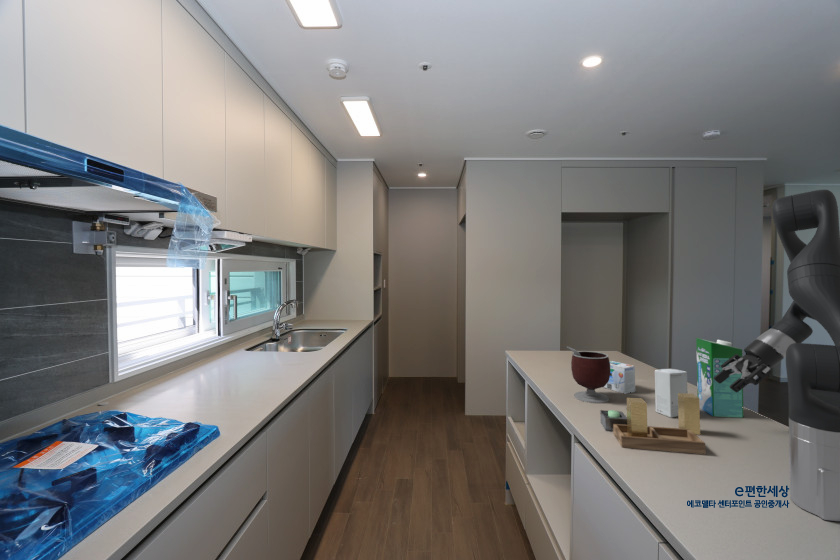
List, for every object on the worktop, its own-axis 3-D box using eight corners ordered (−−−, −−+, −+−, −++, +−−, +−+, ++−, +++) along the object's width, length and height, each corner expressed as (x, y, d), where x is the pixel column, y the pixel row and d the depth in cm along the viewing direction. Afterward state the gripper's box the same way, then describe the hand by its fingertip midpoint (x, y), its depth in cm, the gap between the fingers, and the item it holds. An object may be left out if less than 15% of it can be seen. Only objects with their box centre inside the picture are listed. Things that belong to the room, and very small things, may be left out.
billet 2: (700, 434, 106) (699, 398, 106) (684, 433, 107) (683, 397, 107) (693, 429, 110) (692, 393, 110) (678, 428, 111) (677, 393, 111)
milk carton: (743, 418, 118) (742, 342, 117) (712, 416, 119) (711, 342, 119) (726, 408, 126) (724, 337, 126) (697, 406, 128) (695, 337, 128)
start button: (621, 427, 111) (620, 414, 111) (609, 426, 112) (609, 413, 112) (618, 422, 114) (617, 410, 114) (607, 422, 115) (606, 409, 115)
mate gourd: (606, 393, 145) (605, 344, 145) (614, 405, 132) (613, 351, 132) (565, 390, 150) (564, 343, 149) (569, 402, 136) (568, 349, 136)
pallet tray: (705, 454, 95) (705, 443, 95) (622, 447, 100) (621, 436, 100) (689, 439, 104) (688, 429, 104) (613, 433, 109) (612, 423, 109)
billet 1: (647, 442, 100) (646, 403, 100) (631, 440, 101) (630, 402, 101) (642, 435, 104) (641, 398, 104) (627, 434, 105) (626, 397, 105)
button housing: (628, 432, 109) (628, 419, 109) (605, 430, 111) (605, 417, 111) (622, 423, 115) (622, 411, 115) (600, 422, 117) (600, 410, 117)
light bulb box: (601, 387, 153) (601, 362, 153) (612, 384, 156) (611, 360, 156) (625, 394, 143) (624, 367, 143) (636, 391, 146) (635, 365, 146)
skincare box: (670, 418, 119) (670, 373, 119) (654, 411, 125) (653, 369, 125) (689, 414, 121) (688, 371, 121) (672, 408, 127) (671, 367, 127)
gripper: (743, 334, 111) (701, 370, 114) (776, 343, 97) (727, 383, 100) (764, 352, 110) (721, 387, 113) (800, 363, 96) (750, 403, 99)
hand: (724, 385), depth 106 cm, fingers open, 8 cm apart
